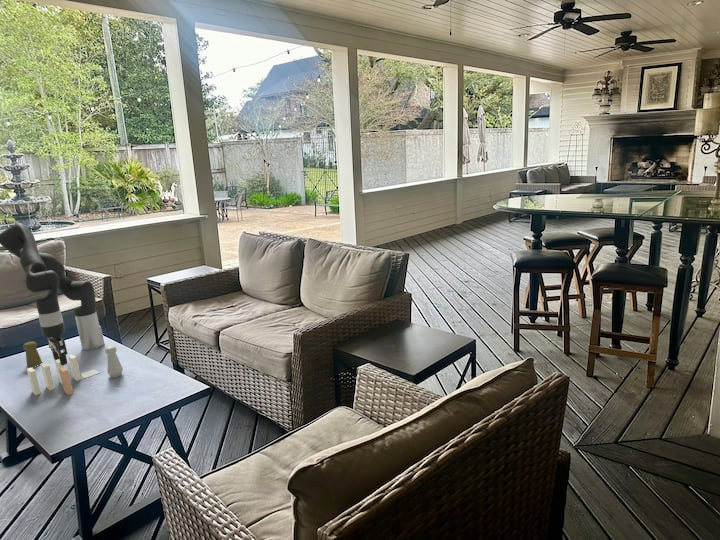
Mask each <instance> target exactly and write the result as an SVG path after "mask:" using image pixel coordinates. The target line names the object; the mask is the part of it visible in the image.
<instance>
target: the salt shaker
mask: <svg viewBox="0 0 720 540" xmlns="http://www.w3.org/2000/svg"><path fill="white" fill-rule="evenodd" d="M104 352H105V354H106V355H107V372H106V373H107V374H108V375H109V377H110V378H111V379H116V378H120V377H121V375H122V374H123V369H124V368H123V366H122V364H121V362H120V360H119V357H118V355H117V347H116V346H114V345H111V346H107V347H105V349H104Z"/></svg>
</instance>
